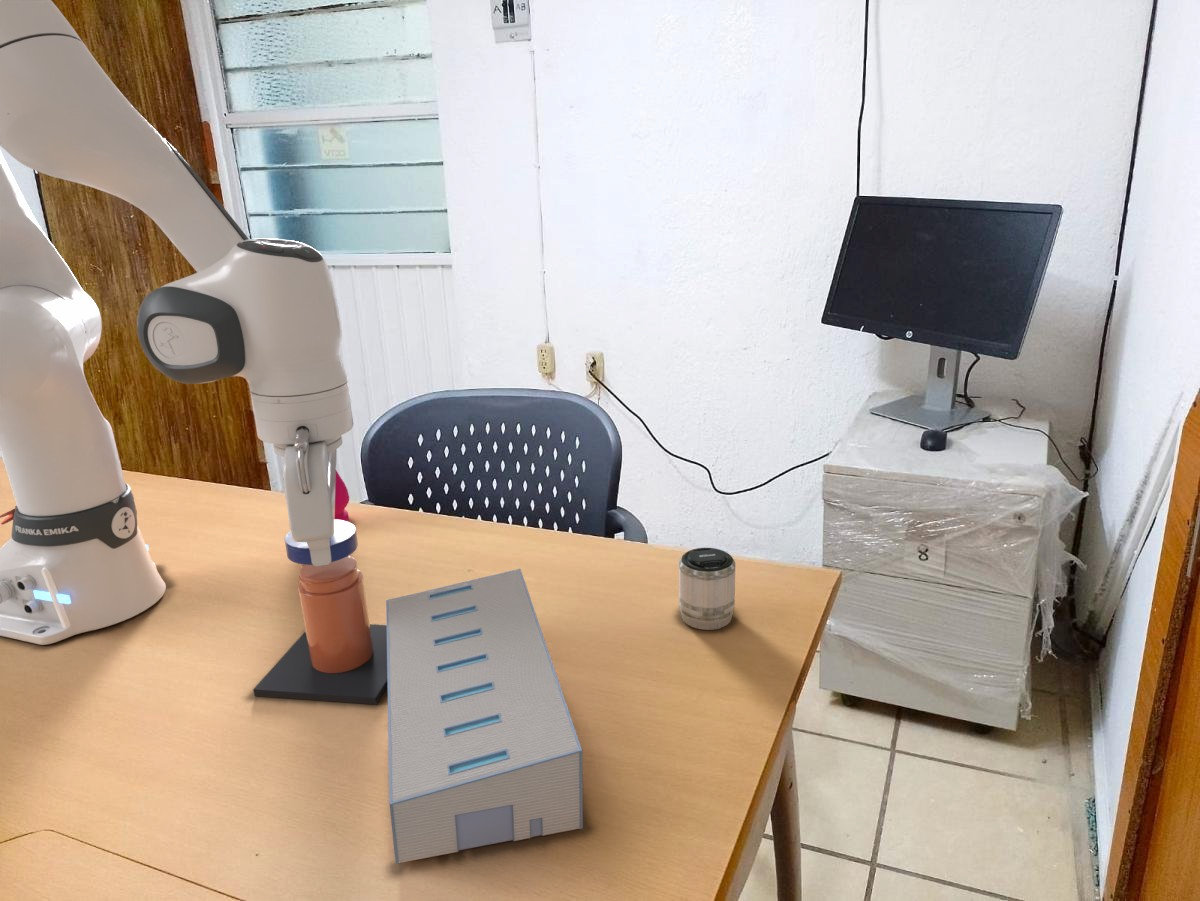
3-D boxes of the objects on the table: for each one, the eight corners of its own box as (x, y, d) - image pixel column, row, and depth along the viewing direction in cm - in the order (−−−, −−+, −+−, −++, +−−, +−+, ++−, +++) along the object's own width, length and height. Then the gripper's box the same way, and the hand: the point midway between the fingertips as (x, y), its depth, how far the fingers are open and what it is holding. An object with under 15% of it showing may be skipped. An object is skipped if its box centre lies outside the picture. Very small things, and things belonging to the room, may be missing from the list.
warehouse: (390, 646, 89) (384, 584, 87) (522, 629, 93) (520, 568, 90) (395, 864, 62) (387, 783, 59) (582, 828, 65) (582, 750, 63)
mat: (254, 696, 83) (252, 689, 83) (315, 627, 95) (314, 621, 95) (376, 704, 81) (375, 698, 81) (423, 633, 93) (422, 627, 93)
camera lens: (742, 627, 92) (744, 564, 89) (688, 635, 91) (688, 571, 88) (723, 600, 98) (724, 539, 95) (672, 607, 97) (671, 546, 94)
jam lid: (358, 559, 82) (356, 542, 81) (284, 569, 80) (282, 552, 79) (357, 531, 88) (355, 515, 87) (289, 540, 86) (286, 524, 85)
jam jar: (299, 671, 86) (283, 580, 82) (328, 637, 92) (313, 551, 88) (358, 675, 85) (343, 583, 81) (383, 641, 91) (370, 554, 87)
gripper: (337, 443, 71) (357, 587, 75) (338, 385, 89) (354, 503, 94) (258, 451, 69) (283, 598, 73) (276, 390, 87) (295, 511, 92)
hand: (323, 544), depth 84 cm, fingers closed on jam lid, 7 cm apart
